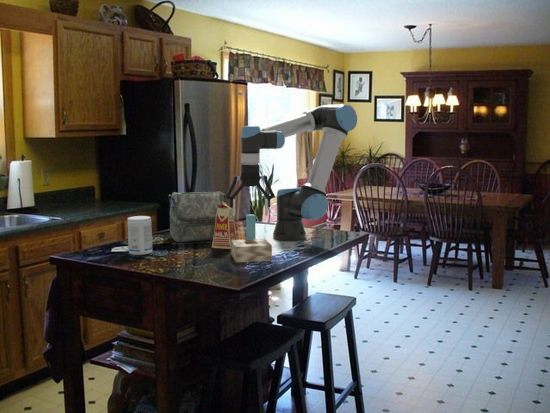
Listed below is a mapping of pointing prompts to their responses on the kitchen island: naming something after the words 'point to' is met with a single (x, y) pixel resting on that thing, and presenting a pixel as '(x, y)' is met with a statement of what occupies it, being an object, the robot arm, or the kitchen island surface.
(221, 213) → the milk carton
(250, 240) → the bore block
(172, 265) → the kitchen island surface
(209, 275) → the kitchen island surface
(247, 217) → the dowel
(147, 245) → the supplement tub
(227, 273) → the kitchen island surface
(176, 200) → the lunch bag
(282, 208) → the robot arm
